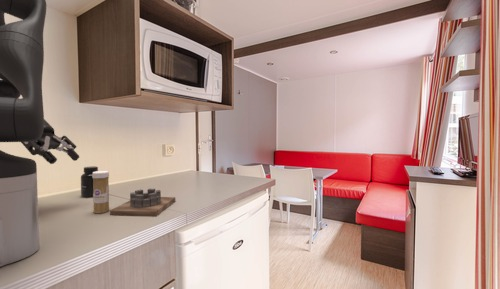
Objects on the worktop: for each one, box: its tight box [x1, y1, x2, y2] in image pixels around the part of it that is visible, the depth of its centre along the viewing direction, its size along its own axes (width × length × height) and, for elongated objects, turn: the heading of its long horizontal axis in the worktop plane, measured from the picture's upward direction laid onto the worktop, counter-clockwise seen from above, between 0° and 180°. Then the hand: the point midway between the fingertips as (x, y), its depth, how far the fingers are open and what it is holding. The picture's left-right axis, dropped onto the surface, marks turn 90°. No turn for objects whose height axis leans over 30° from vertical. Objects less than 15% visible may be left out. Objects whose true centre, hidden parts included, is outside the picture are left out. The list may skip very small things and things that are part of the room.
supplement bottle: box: [80, 165, 99, 198], centre depth 92 cm, size 7×7×12 cm
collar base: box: [109, 188, 176, 217], centre depth 78 cm, size 16×15×6 cm
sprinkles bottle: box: [92, 170, 110, 214], centre depth 73 cm, size 5×5×13 cm
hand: (66, 160), depth 73 cm, fingers open, 8 cm apart
